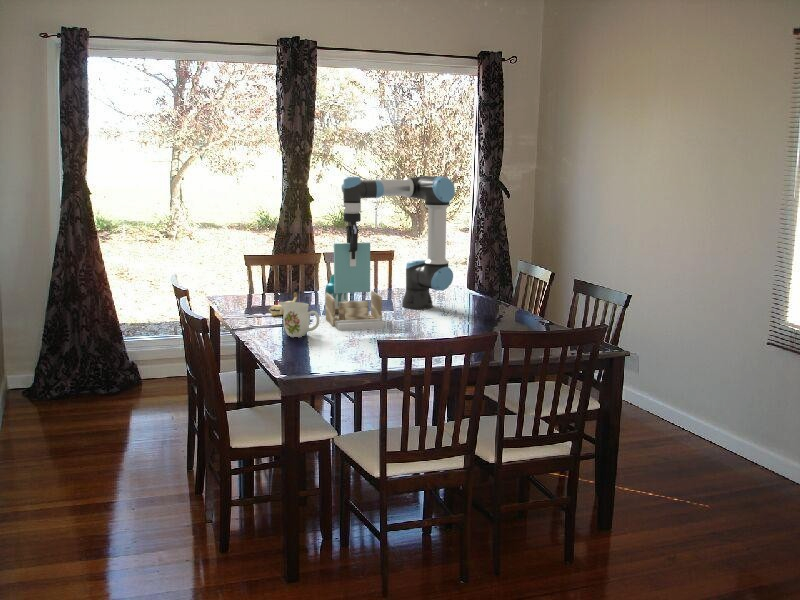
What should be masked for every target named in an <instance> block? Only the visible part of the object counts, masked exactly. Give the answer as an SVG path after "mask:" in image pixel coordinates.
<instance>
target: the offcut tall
mask: <svg viewBox="0 0 800 600" xmlns="http://www.w3.org/2000/svg"><path fill="white" fill-rule="evenodd" d="M355 307H367V308H368V315H369V311H370V310H369V301H368V300H355V301H354V300H353V301H352V300H351V301H349V300H348V302H339V314H338V317H339V320H344V308H355Z"/></svg>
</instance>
